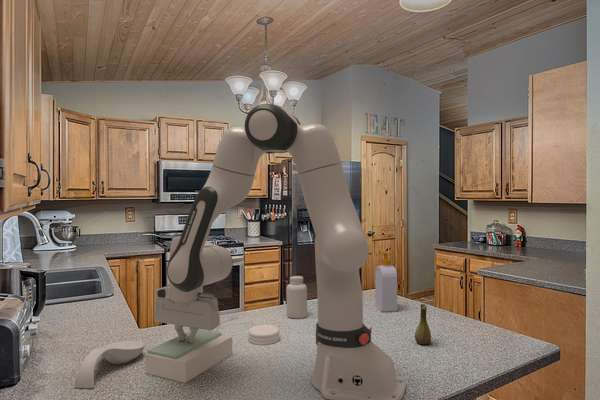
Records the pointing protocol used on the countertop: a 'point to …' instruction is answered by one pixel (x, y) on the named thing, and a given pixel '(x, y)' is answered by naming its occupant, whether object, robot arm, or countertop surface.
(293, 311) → the pill bottle
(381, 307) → the soap bottle
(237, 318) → the scissors
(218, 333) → the cover
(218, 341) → the beige rectangular box
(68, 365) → the countertop surface
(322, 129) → the robot arm
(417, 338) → the olive green bottle shape
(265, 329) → the beige short cylinder
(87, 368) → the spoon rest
